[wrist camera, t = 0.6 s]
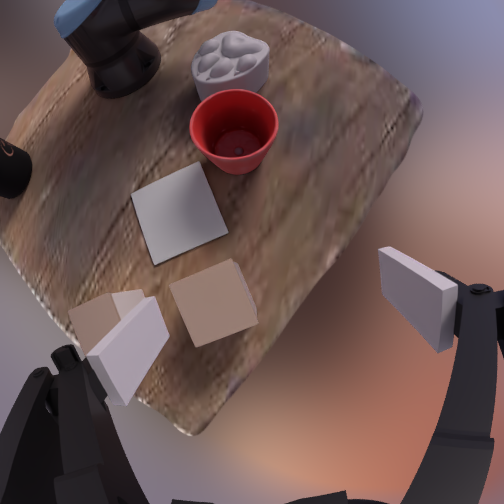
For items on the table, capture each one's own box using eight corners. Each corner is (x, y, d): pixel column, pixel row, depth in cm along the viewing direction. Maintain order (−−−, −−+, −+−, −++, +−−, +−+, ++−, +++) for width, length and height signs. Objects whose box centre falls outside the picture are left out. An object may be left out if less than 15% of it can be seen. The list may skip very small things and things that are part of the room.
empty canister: (191, 281, 39) (168, 284, 29) (238, 261, 40) (231, 258, 29) (211, 328, 39) (195, 347, 28) (258, 309, 39) (259, 323, 29)
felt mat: (131, 194, 41) (130, 194, 40) (199, 162, 41) (199, 161, 40) (155, 265, 40) (154, 265, 39) (228, 232, 40) (228, 232, 39)
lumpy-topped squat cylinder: (275, 73, 42) (278, 41, 33) (230, 119, 41) (225, 89, 33) (230, 52, 42) (226, 21, 34) (184, 94, 42) (171, 64, 33)
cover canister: (105, 303, 40) (67, 311, 29) (142, 287, 40) (108, 291, 29) (123, 346, 39) (89, 364, 29) (161, 332, 39) (132, 351, 29)
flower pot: (260, 195, 40) (260, 172, 30) (192, 172, 41) (175, 145, 31) (283, 135, 41) (289, 102, 31) (219, 116, 41) (210, 81, 31)
